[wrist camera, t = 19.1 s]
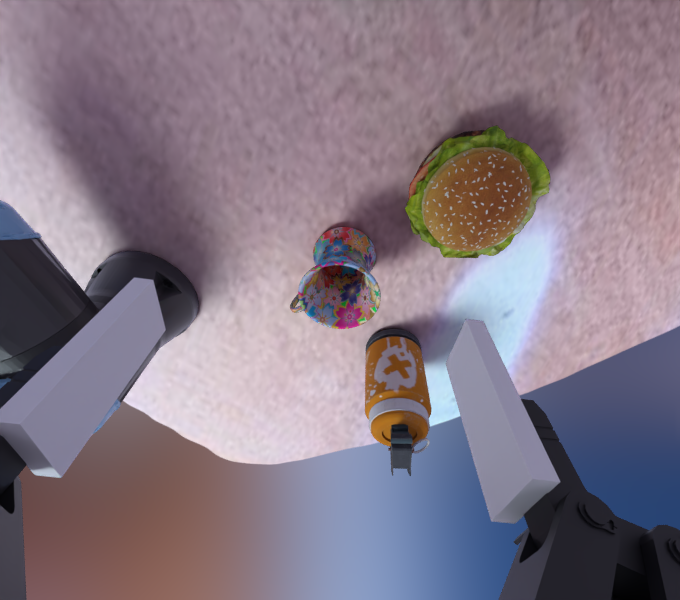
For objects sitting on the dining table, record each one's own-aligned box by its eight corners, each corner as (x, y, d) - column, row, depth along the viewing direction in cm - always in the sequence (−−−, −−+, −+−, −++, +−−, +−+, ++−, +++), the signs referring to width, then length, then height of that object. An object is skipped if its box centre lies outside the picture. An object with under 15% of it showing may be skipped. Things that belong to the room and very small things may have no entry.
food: (461, 261, 45) (476, 295, 39) (383, 197, 41) (386, 223, 34) (555, 181, 38) (592, 206, 32) (474, 93, 34) (498, 102, 27)
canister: (421, 325, 52) (444, 444, 36) (418, 372, 59) (436, 491, 43) (364, 326, 53) (362, 443, 37) (367, 373, 60) (366, 489, 44)
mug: (357, 208, 42) (354, 247, 33) (390, 264, 46) (394, 312, 38) (282, 249, 46) (262, 293, 38) (318, 297, 50) (308, 346, 42)
